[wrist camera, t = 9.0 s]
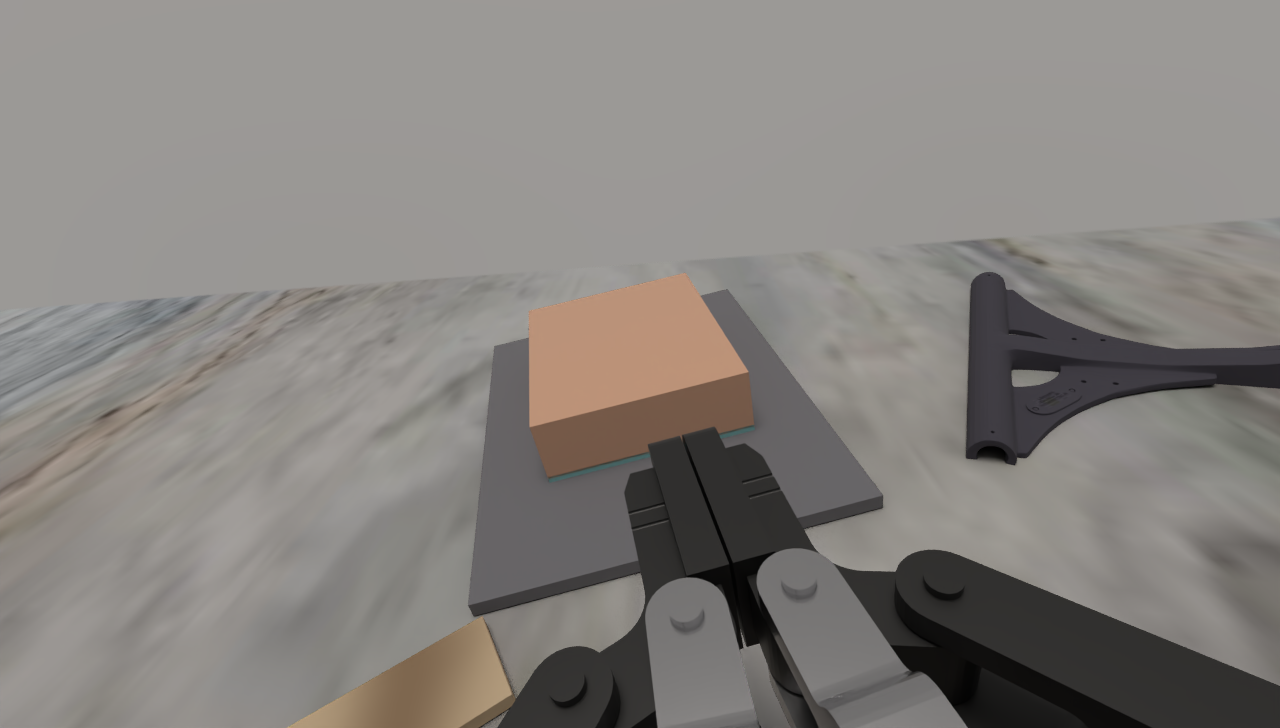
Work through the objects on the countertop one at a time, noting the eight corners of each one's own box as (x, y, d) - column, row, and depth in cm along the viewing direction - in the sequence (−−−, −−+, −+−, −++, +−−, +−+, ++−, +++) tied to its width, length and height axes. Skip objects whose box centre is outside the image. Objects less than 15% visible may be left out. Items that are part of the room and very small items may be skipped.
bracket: (1581, 562, 16) (1653, 488, 15) (963, 470, 23) (972, 412, 21) (1342, 314, 27) (1371, 256, 25) (968, 300, 33) (974, 254, 32)
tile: (529, 427, 23) (528, 310, 33) (549, 482, 25) (543, 356, 34) (748, 371, 24) (685, 273, 33) (754, 429, 25) (692, 319, 35)
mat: (473, 616, 20) (468, 605, 20) (497, 354, 37) (494, 346, 36) (882, 507, 21) (883, 495, 21) (728, 297, 37) (727, 289, 37)
